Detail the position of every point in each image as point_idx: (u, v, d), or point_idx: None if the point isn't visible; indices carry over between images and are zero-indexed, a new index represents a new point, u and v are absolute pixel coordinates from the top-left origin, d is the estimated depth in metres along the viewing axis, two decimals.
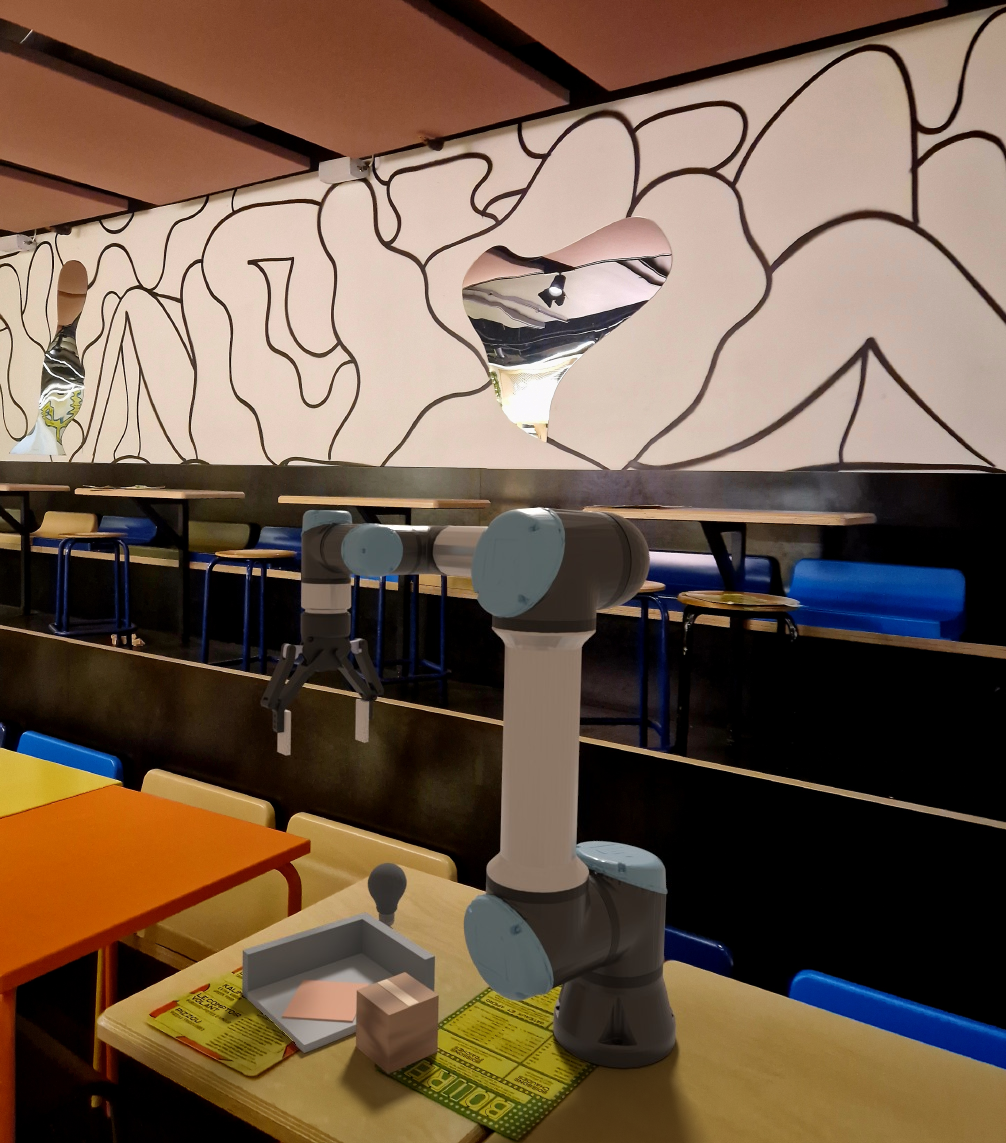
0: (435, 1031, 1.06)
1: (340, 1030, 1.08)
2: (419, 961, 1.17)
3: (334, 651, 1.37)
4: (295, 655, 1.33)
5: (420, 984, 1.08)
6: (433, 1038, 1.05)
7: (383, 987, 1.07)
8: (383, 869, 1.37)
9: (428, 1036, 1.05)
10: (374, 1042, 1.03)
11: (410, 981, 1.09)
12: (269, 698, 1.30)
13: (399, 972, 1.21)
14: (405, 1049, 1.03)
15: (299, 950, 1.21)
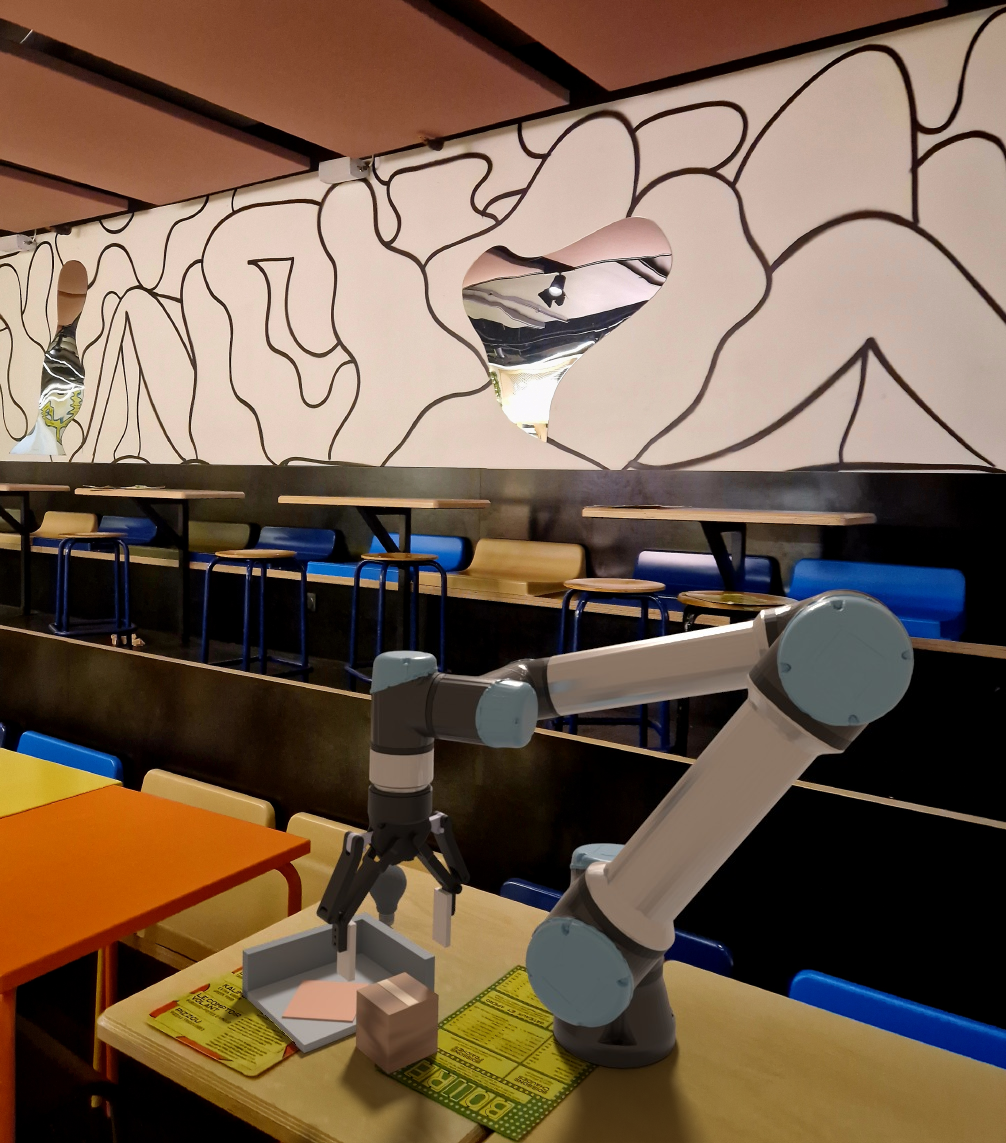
0: (435, 1031, 1.06)
1: (340, 1030, 1.08)
2: (419, 961, 1.17)
3: (411, 836, 1.05)
4: (363, 850, 1.01)
5: (420, 984, 1.08)
6: (433, 1038, 1.05)
7: (383, 987, 1.07)
8: None
9: (428, 1036, 1.05)
10: (374, 1042, 1.03)
11: (410, 981, 1.09)
12: (329, 910, 0.98)
13: (399, 972, 1.21)
14: (405, 1049, 1.03)
15: (299, 950, 1.21)
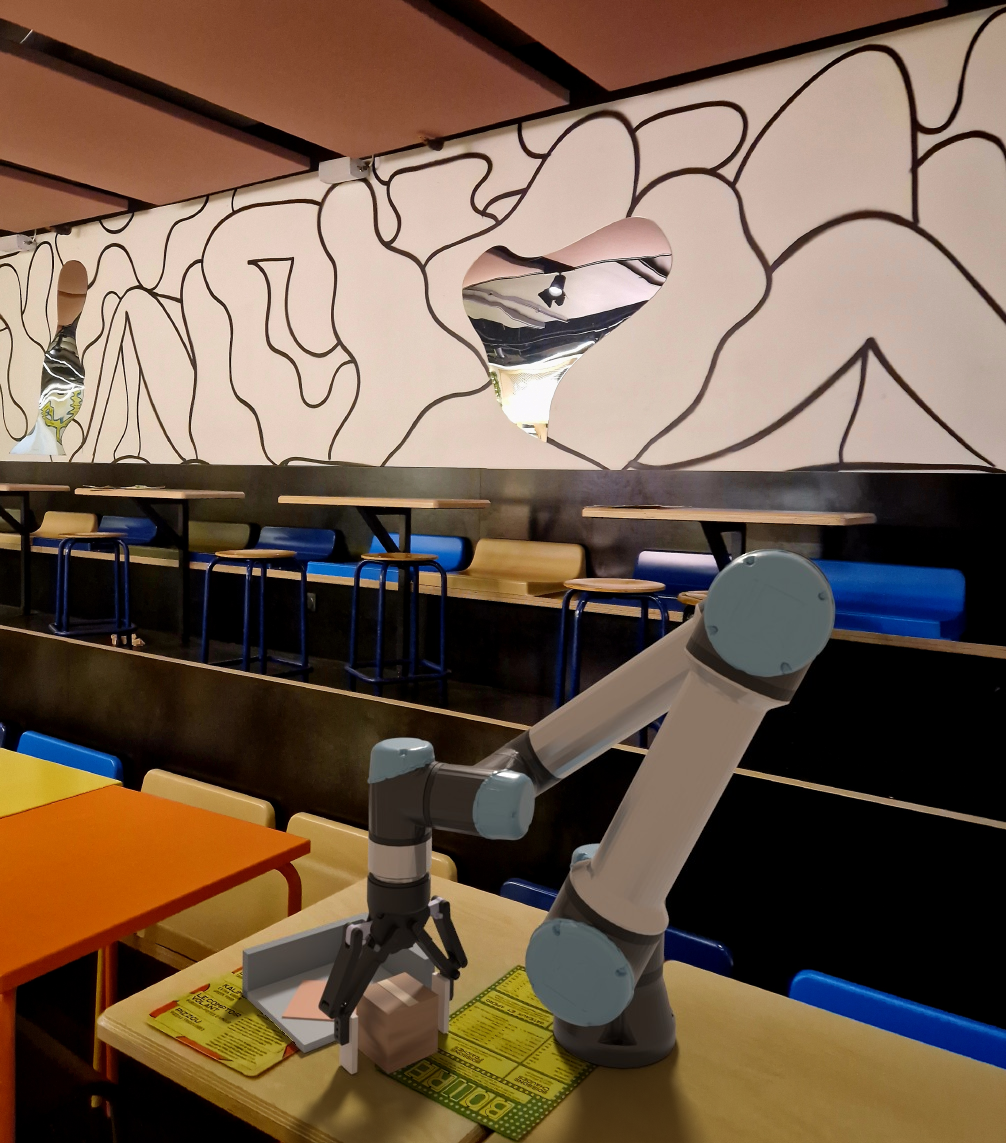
0: (435, 1031, 1.06)
1: None
2: (419, 961, 1.17)
3: (410, 924, 1.05)
4: (363, 942, 1.01)
5: (420, 984, 1.08)
6: (433, 1038, 1.05)
7: (383, 986, 1.07)
8: None
9: (428, 1036, 1.05)
10: (374, 1042, 1.03)
11: (410, 981, 1.09)
12: (331, 1005, 0.99)
13: (399, 972, 1.21)
14: (405, 1049, 1.03)
15: (299, 950, 1.21)
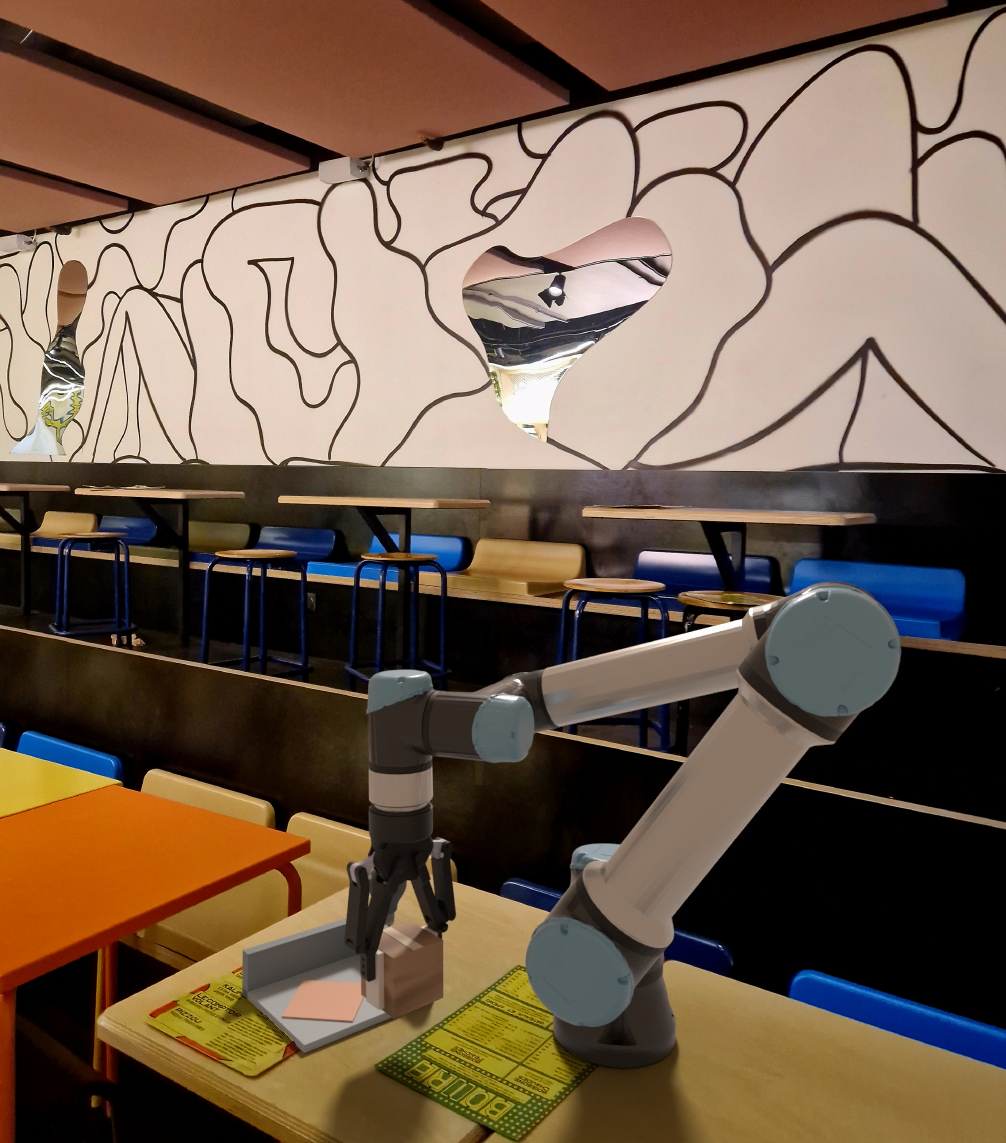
0: (440, 976, 1.05)
1: (340, 1030, 1.08)
2: None
3: (414, 853, 1.05)
4: (369, 877, 1.01)
5: (424, 930, 1.08)
6: (439, 983, 1.05)
7: (387, 933, 1.07)
8: None
9: (433, 980, 1.04)
10: None
11: (414, 928, 1.08)
12: (354, 942, 1.00)
13: None
14: (411, 994, 1.02)
15: (299, 950, 1.21)
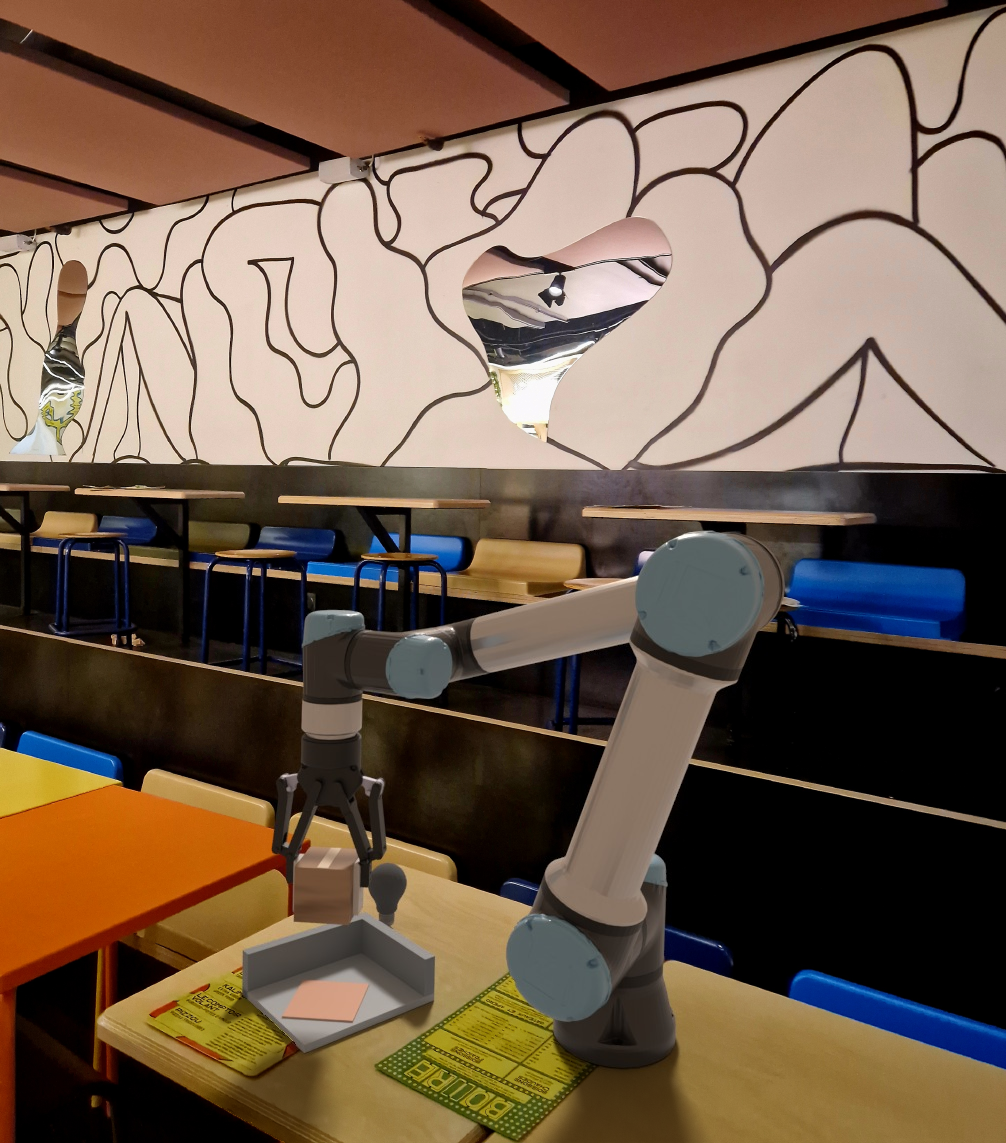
0: (346, 903, 1.10)
1: (340, 1030, 1.08)
2: (419, 961, 1.17)
3: (334, 782, 1.12)
4: (287, 789, 1.12)
5: (354, 859, 1.13)
6: (344, 909, 1.10)
7: (328, 851, 1.16)
8: (383, 869, 1.37)
9: (338, 904, 1.10)
10: None
11: (352, 855, 1.15)
12: None
13: (399, 972, 1.21)
14: (312, 906, 1.11)
15: (299, 950, 1.21)
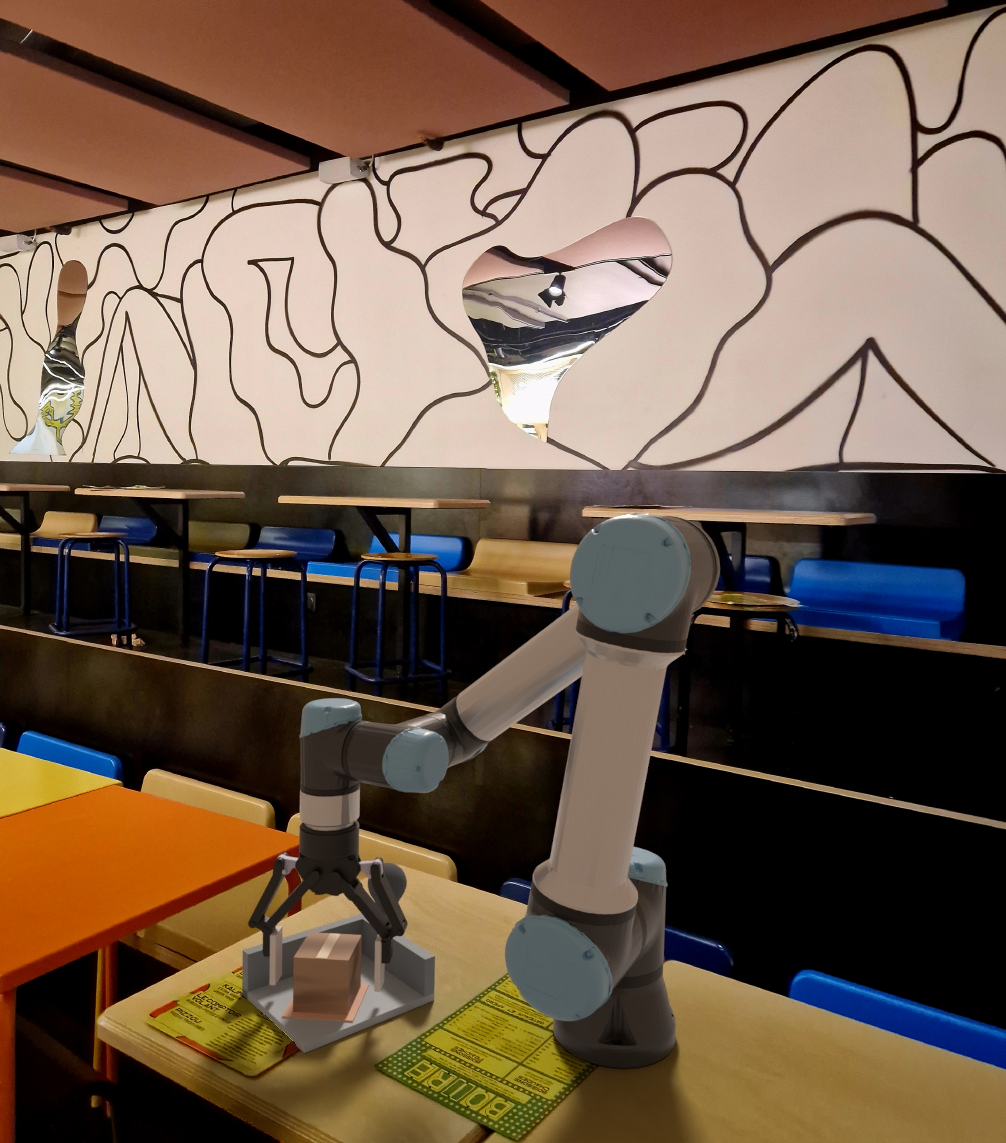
0: (345, 993, 1.11)
1: (340, 1030, 1.08)
2: (419, 961, 1.17)
3: (331, 872, 1.12)
4: (282, 872, 1.13)
5: (353, 947, 1.14)
6: (342, 999, 1.11)
7: (327, 937, 1.17)
8: None
9: (337, 994, 1.11)
10: None
11: (351, 942, 1.16)
12: None
13: (399, 972, 1.21)
14: (311, 996, 1.11)
15: None
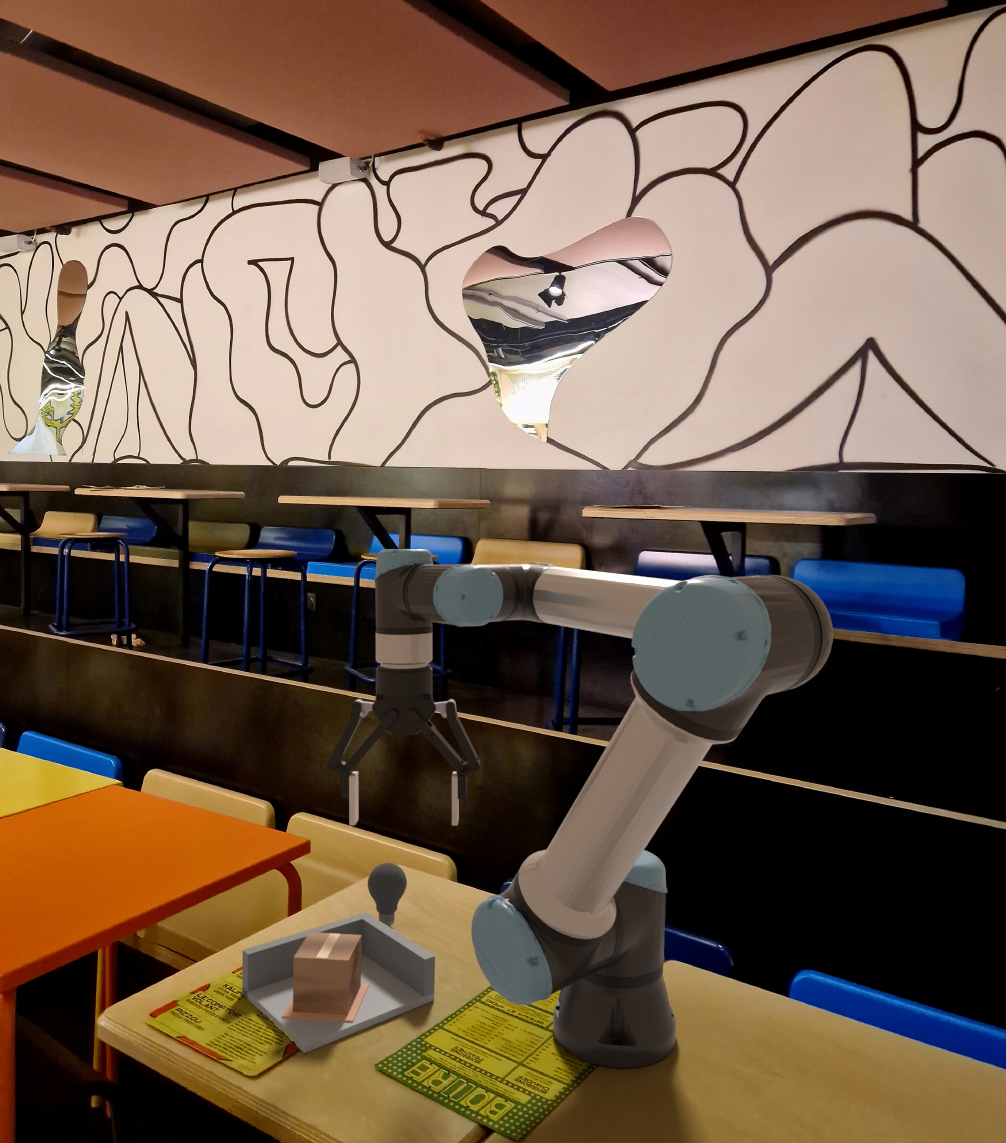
0: (345, 993, 1.11)
1: (340, 1030, 1.08)
2: (419, 961, 1.17)
3: (408, 712, 1.17)
4: (360, 714, 1.18)
5: (353, 947, 1.14)
6: (342, 999, 1.11)
7: (327, 937, 1.17)
8: (383, 869, 1.37)
9: (337, 994, 1.11)
10: None
11: (351, 942, 1.16)
12: None
13: (399, 972, 1.21)
14: (311, 996, 1.11)
15: None
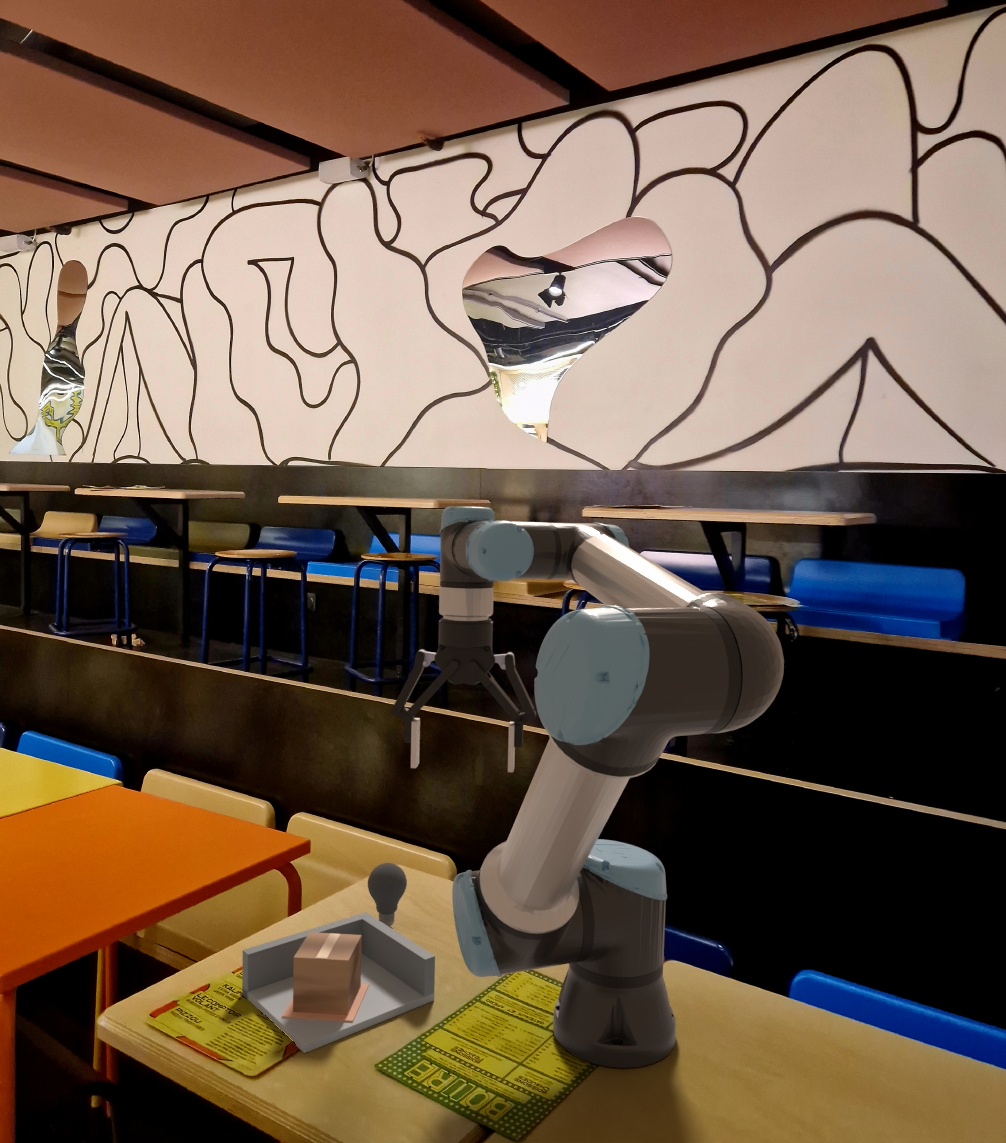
0: (345, 993, 1.11)
1: (340, 1030, 1.08)
2: (419, 961, 1.17)
3: (469, 663, 1.23)
4: (423, 663, 1.24)
5: (353, 947, 1.14)
6: (342, 999, 1.11)
7: (327, 937, 1.17)
8: (383, 869, 1.37)
9: (337, 994, 1.11)
10: None
11: (351, 942, 1.16)
12: (394, 704, 1.24)
13: (399, 972, 1.21)
14: (311, 996, 1.11)
15: None
